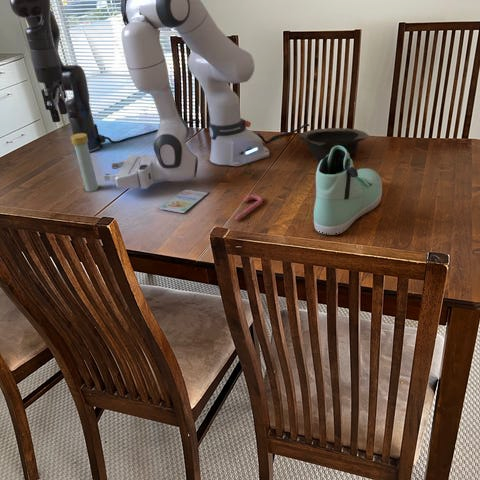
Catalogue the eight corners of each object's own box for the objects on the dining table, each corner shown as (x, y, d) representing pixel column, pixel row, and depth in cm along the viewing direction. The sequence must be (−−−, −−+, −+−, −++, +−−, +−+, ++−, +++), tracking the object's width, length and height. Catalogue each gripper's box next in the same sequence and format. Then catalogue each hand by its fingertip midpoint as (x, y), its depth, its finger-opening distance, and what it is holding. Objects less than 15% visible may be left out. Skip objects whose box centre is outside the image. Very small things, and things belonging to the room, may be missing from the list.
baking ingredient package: (158, 207, 146) (184, 188, 157) (159, 209, 146) (185, 189, 158) (183, 212, 142) (208, 192, 154) (183, 213, 143) (208, 193, 154)
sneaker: (389, 187, 148) (396, 123, 138) (356, 242, 123) (361, 168, 112) (346, 181, 154) (350, 119, 144) (306, 232, 129) (307, 161, 118)
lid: (87, 138, 158) (86, 132, 157) (88, 143, 154) (87, 136, 152) (72, 141, 156) (70, 134, 155) (72, 146, 152) (70, 139, 151)
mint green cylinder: (97, 185, 166) (85, 134, 156) (98, 190, 162) (85, 137, 153) (85, 187, 165) (72, 136, 155) (86, 192, 161) (72, 140, 152)
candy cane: (221, 217, 140) (221, 213, 139) (250, 196, 150) (250, 192, 149) (238, 222, 136) (238, 217, 136) (266, 200, 146) (266, 196, 146)
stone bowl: (326, 172, 161) (325, 145, 157) (286, 155, 181) (284, 131, 177) (383, 154, 170) (384, 128, 165) (339, 140, 190) (339, 116, 186)
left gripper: (41, 60, 149) (55, 112, 157) (26, 70, 137) (41, 125, 145) (65, 58, 149) (77, 110, 157) (52, 67, 137) (66, 123, 145)
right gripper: (153, 149, 166) (114, 151, 167) (141, 172, 149) (98, 175, 150) (156, 166, 169) (118, 168, 170) (145, 191, 152) (102, 193, 153)
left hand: (60, 117), depth 151 cm, fingers open, 8 cm apart
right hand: (108, 171), depth 160 cm, fingers open, 8 cm apart
